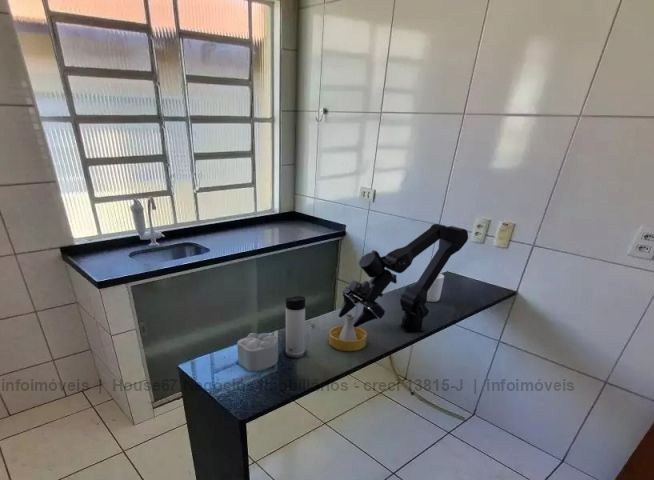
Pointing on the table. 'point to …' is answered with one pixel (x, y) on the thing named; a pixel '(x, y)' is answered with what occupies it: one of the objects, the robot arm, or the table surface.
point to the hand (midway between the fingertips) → (346, 321)
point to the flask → (348, 329)
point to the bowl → (347, 345)
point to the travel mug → (295, 326)
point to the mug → (435, 289)
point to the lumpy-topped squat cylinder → (258, 351)
